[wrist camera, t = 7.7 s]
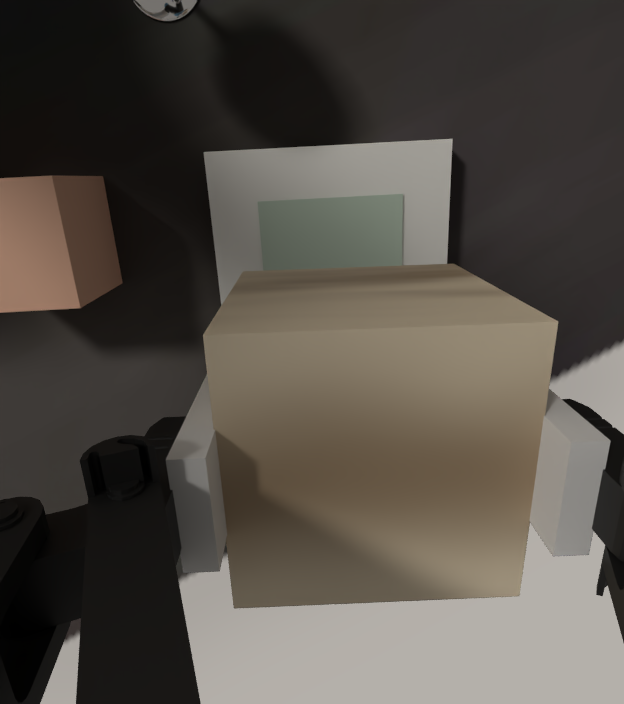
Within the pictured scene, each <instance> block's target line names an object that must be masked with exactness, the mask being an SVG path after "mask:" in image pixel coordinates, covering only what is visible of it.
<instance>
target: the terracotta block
mask: <svg viewBox="0 0 624 704" xmlns="http://www.w3.org/2000/svg"><path fill="white" fill-rule="evenodd" d="M120 284H122V277H121V272H120V266H119V261H118V255H117V250H116V244H115V239H114V233H113V228H112V223H111V217H110V212H109V206H108V201H107V195H106V190H105V184H104V179H103V176H34V177H15V178H0V313H2V312H20V311H39V310H57V309H75V308H82V307H83V306H85V305H87V304H88V303H90V302H92V301H93V300H95V299H97V298H98V297H100V296H102V295H104V294H105V293H107V292H109V291H110V290H112V289H114V288H115V287H117V286H119V285H120Z"/></svg>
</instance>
